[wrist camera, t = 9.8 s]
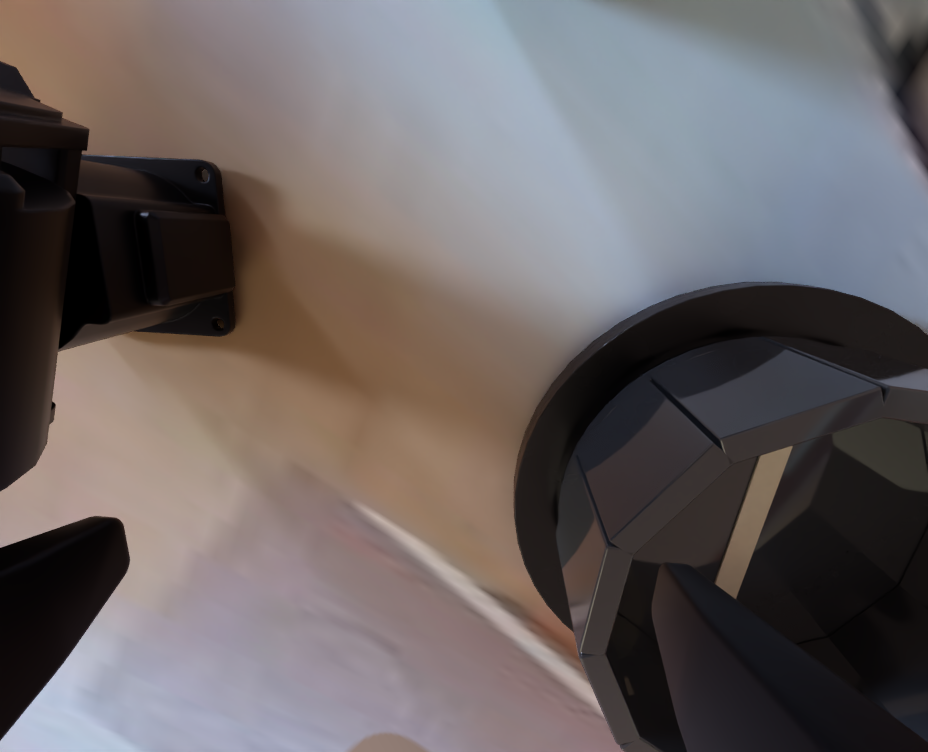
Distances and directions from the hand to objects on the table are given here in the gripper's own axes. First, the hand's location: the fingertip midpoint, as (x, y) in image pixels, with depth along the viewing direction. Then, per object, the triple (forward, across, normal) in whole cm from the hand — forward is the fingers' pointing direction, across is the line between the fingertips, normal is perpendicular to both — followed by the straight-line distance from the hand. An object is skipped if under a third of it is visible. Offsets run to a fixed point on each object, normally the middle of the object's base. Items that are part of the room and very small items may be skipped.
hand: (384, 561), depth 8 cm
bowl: (+11, -12, +6) cm, 17 cm away
